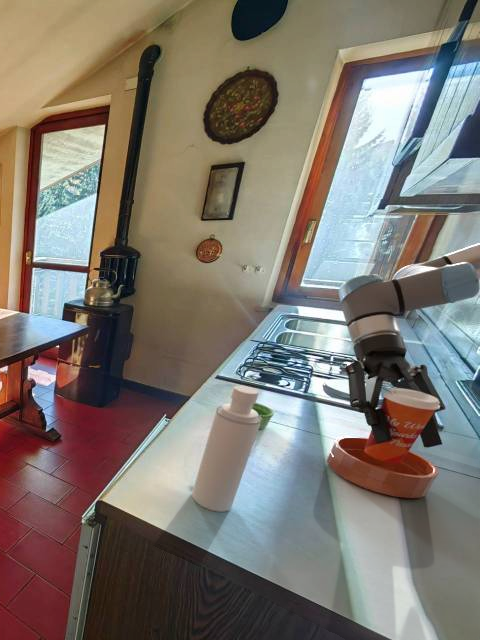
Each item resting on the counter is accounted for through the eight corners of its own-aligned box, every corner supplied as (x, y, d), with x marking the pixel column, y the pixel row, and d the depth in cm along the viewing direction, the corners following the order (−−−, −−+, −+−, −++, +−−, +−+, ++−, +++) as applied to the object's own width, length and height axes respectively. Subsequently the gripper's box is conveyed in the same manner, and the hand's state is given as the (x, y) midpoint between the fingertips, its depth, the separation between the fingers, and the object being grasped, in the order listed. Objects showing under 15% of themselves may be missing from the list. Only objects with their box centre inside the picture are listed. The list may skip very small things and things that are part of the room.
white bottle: (235, 500, 75) (277, 381, 65) (225, 517, 71) (268, 392, 61) (197, 484, 79) (231, 370, 70) (186, 499, 75) (220, 380, 65)
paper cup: (364, 459, 79) (395, 397, 74) (352, 442, 86) (379, 384, 80) (417, 470, 76) (453, 406, 71) (400, 451, 82) (432, 391, 77)
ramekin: (261, 434, 99) (266, 419, 97) (223, 420, 106) (227, 405, 104) (274, 424, 104) (279, 409, 102) (237, 412, 111) (241, 398, 109)
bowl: (425, 479, 82) (438, 457, 80) (423, 511, 73) (438, 487, 71) (332, 449, 93) (341, 429, 91) (320, 474, 83) (329, 452, 81)
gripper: (413, 351, 86) (448, 452, 78) (311, 346, 89) (334, 443, 81) (449, 335, 79) (491, 444, 71) (337, 329, 82) (365, 434, 74)
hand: (408, 443), depth 76 cm, fingers closed on paper cup, 8 cm apart
